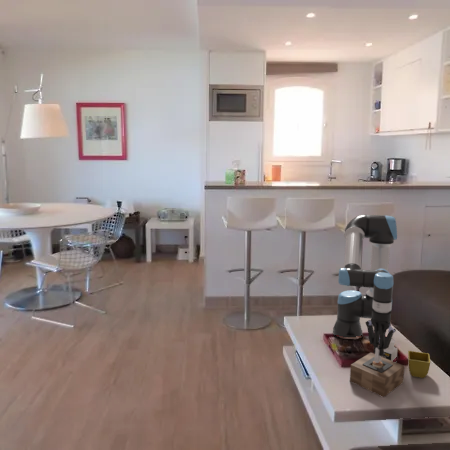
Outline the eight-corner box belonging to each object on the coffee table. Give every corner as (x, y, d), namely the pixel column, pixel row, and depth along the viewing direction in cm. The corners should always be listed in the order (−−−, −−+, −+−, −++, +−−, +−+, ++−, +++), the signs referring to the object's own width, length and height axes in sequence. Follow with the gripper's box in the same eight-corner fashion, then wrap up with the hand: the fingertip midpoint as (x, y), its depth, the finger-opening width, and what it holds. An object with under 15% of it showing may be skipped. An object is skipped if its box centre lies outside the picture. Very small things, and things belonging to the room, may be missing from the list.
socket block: (369, 368, 208) (370, 351, 206) (402, 382, 196) (404, 365, 195) (349, 381, 198) (350, 363, 196) (383, 397, 186) (385, 378, 184)
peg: (374, 376, 199) (375, 359, 198) (383, 379, 196) (384, 362, 195) (369, 379, 197) (371, 362, 195) (378, 383, 194) (379, 366, 192)
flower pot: (406, 377, 200) (408, 359, 198) (406, 368, 208) (408, 350, 206) (428, 381, 197) (430, 362, 195) (427, 371, 205) (429, 353, 203)
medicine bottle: (375, 362, 213) (377, 338, 211) (382, 356, 219) (383, 333, 216) (390, 367, 209) (392, 343, 206) (396, 361, 214) (398, 338, 211)
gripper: (362, 307, 192) (359, 358, 197) (391, 317, 183) (387, 370, 188) (372, 303, 197) (368, 352, 202) (400, 311, 188) (396, 364, 193)
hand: (377, 361), depth 195 cm, fingers closed
